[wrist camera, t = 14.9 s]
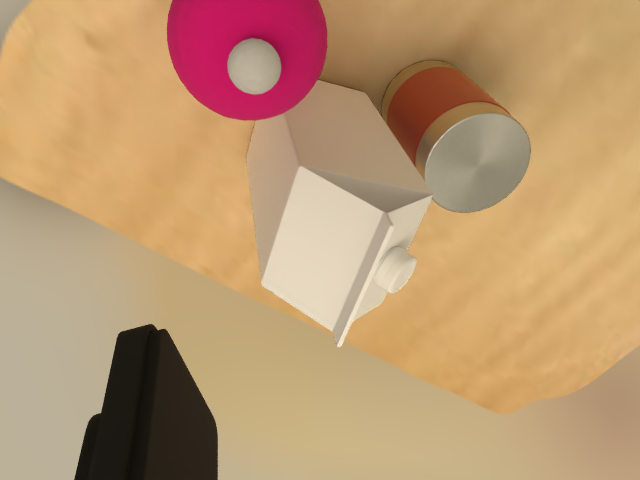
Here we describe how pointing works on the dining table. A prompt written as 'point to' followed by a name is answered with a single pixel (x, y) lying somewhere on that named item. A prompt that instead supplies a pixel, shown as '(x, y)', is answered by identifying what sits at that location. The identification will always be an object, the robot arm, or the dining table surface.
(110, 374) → the robot arm
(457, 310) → the dining table surface
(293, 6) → the pepper mill
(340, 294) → the milk carton
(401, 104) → the sauce tin
